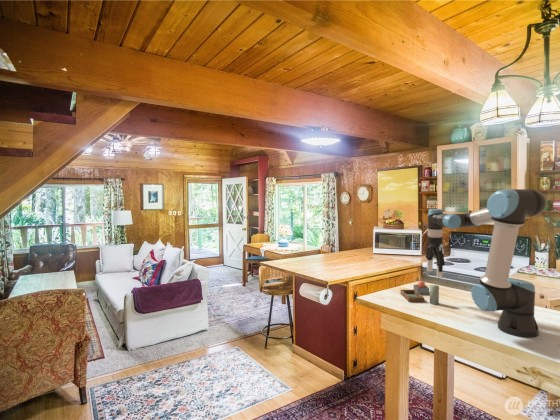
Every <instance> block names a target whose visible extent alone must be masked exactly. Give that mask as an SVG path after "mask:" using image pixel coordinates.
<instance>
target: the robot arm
mask: <svg viewBox="0 0 560 420" xmlns="http://www.w3.org/2000/svg"><path fill="white" fill-rule="evenodd" d="M547 203H548V202H547V198H546V196H545V195H544V194H543V193H542V191H541V192H540V191H539V190H536V189H531V188H526V189H525V188H524V189H523V188H522V189H521V188H520V189H518V188H517V189H516V188H505V189H499V190H497V191H495V192H493V193H492V194H491V195H490V196H489V198H488V199H487V203H486V207H484V208H481V209H478V210H473V211H471V212H464V213H461V212H460V213H459V212H458V213H444V210H443V209H442V208H429V209H428V212H427V247H426V253H425V254H426V255H425V258H426V266H427V267H426V269H427V270H426V271H427V272H433V267H434V266H433V260H434V259H433V257H434V256H435V259H436V278H440V279H441V278H443V272H444V271H443V269H444V267H443V266H445V265H446V262H445V257H444V251H443V246H440V245H443V241H444V240H443V233H444V230H443V228H445V229H451V230H452V229H453V230H454V229H455V230H456V229H459V228H476V227H480V226H481V225H485V224H489V223H494V224H493V230H492V236H491V240H490V246H489V251H488V256H487V262H486V268H485V273H484V274H483V275H481V276H480V278H479V283H476V284H475V285H473V286H472V287H471V290H470V291H471V299H472V300H473V303H474V304H475V305H476V307H478V308H479V309H480V310H481V311H483V312H496V311H497V312H498V311H502V312H501V314H500V316H499V318H498V319H497V328H498V329H499V330H500V331H502V332H503V333H506V334H508V335H511V336H517V337H520V338H521V337H522V338H535V337H538V336H539V334H540V333H539V332H540V331H539V327H538V323H537V320H536V317H535V305H536V304H535V303H536V301H535V300H536V288H535V287H536V286H535V285H534V283H533V282H530V281H527V280H525V279H518V278H514V277H513V278H512V277H509V276H510V273H511V267H512V262H513V259H514V258H513V257H514V254H515V248H516V243H517V239H518V233H519V230H520V228H521V227H523V226H524V225H525V224H526V219H527V218H532V217H537V216H539V215H541V214H542V213H543V212H544V211H545V210H546V208H547V205H548V204H547Z"/></svg>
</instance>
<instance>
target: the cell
mask: <svg viewBox="0 0 560 420" xmlns="http://www.w3.org/2000/svg"><path fill="white" fill-rule="evenodd" d="M439 298H440V285H437V284H430V285H429V304H430V305H432V306H433V305H434V306H438V305H439V304H440V303H439V302H440V299H439Z"/></svg>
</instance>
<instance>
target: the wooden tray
mask: <svg viewBox="0 0 560 420" xmlns="http://www.w3.org/2000/svg"><path fill="white" fill-rule="evenodd" d="M400 295H401V296H402V297H403V298H404V299H405V300H406V301H407V302H408V303H425V296H423V294H419V293H418V292H417V291H416V290H414V289H400Z"/></svg>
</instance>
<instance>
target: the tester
mask: <svg viewBox="0 0 560 420" xmlns="http://www.w3.org/2000/svg"><path fill="white" fill-rule="evenodd" d="M413 290H416V291H417V292H418V293H419V294H420V295H430V286H429V287H428V286H427V284H425V288H421V287H418V284H413Z"/></svg>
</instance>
